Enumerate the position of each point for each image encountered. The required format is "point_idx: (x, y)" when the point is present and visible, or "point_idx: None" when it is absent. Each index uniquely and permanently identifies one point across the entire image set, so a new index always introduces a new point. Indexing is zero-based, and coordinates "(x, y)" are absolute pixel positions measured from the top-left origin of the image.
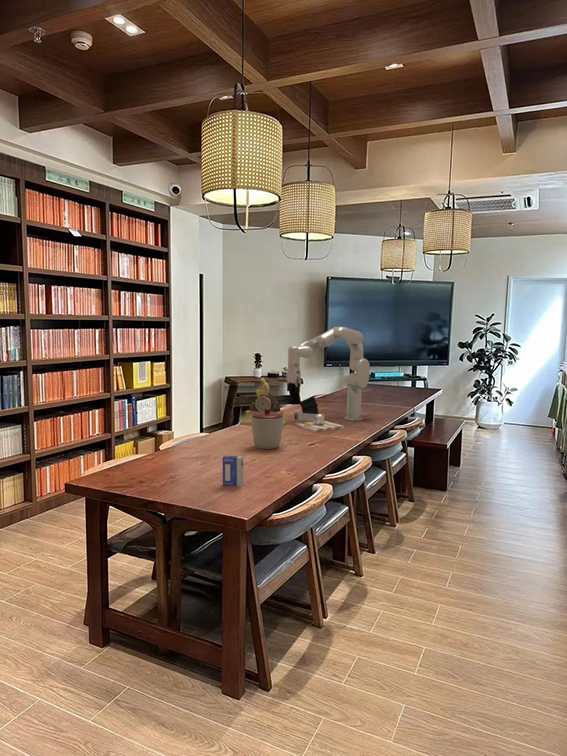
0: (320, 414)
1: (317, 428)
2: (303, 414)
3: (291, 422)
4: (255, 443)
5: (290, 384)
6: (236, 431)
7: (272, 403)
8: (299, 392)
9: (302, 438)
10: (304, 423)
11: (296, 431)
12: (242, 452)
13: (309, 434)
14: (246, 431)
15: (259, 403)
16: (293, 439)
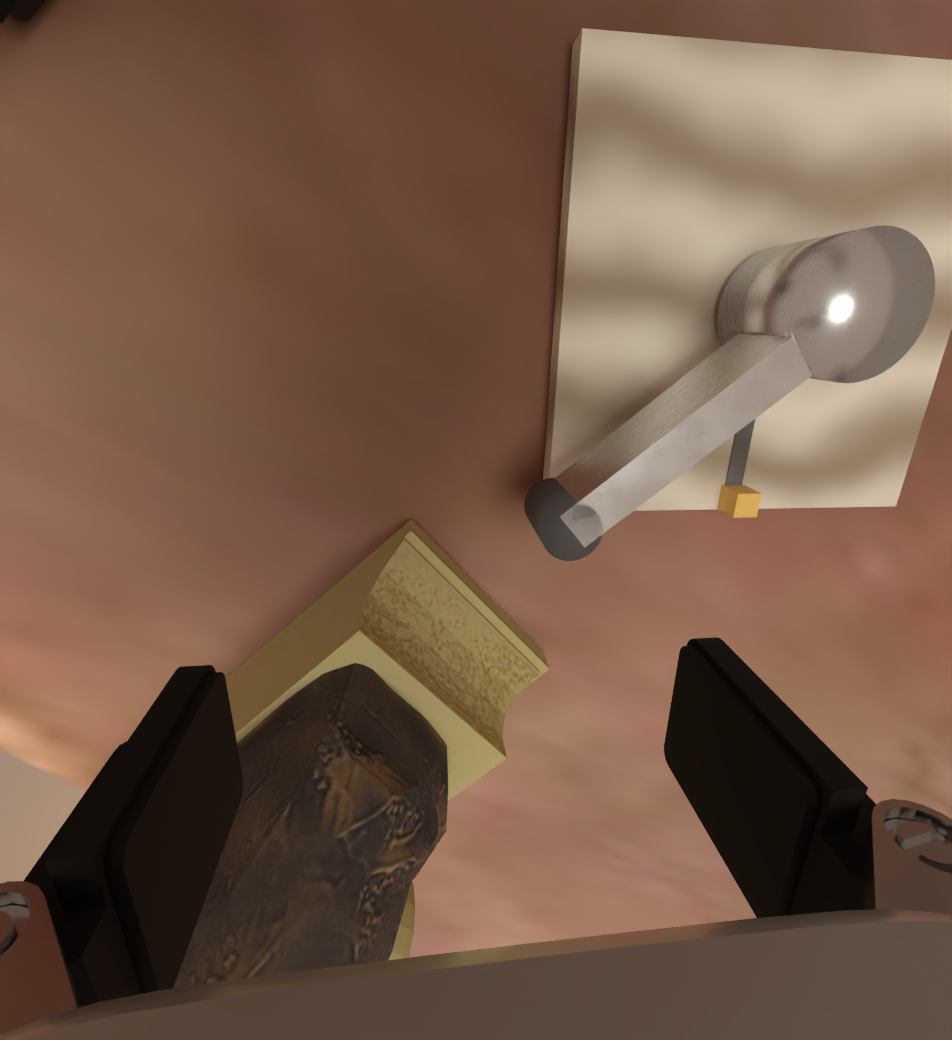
0: (871, 288)
1: (881, 456)
2: (667, 478)
3: (349, 433)
4: None
5: (94, 945)
6: (472, 947)
7: (406, 893)
8: (716, 649)
9: (942, 696)
10: (603, 420)
11: (744, 619)
12: None
13: (898, 589)
14: (510, 902)
15: None
16: (914, 755)
